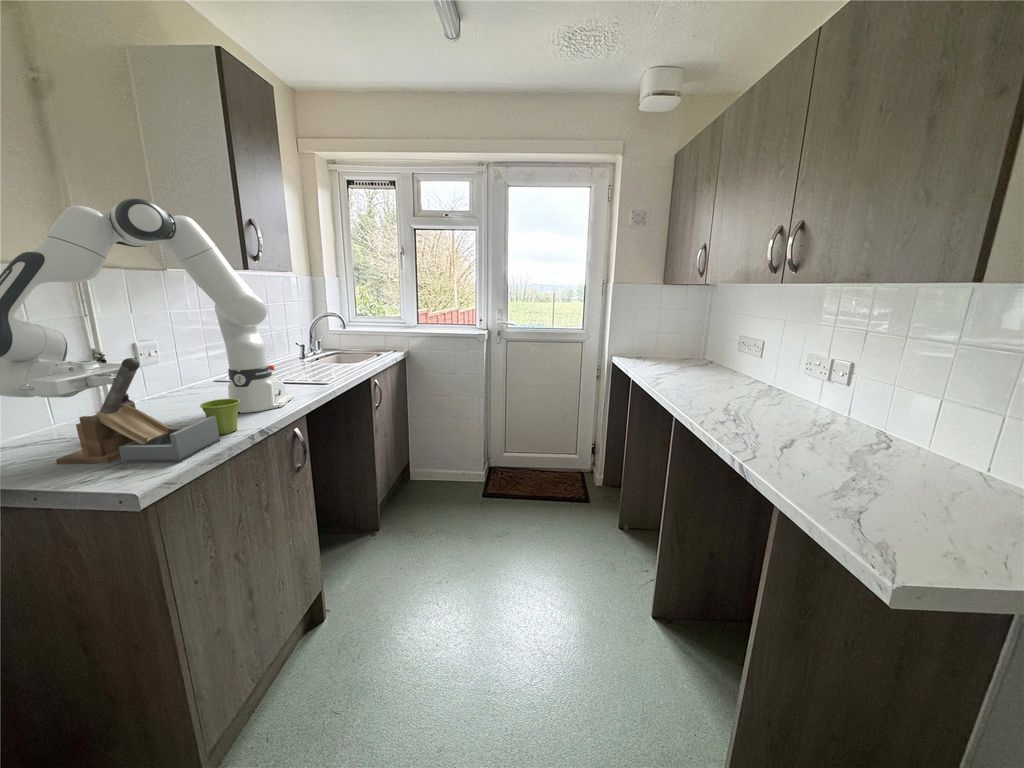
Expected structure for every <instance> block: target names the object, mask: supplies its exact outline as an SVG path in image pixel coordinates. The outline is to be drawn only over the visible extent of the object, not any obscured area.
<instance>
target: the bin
mask: <svg viewBox="0 0 1024 768" xmlns="http://www.w3.org/2000/svg"><path fill="white" fill-rule="evenodd" d="M170 428H171V429H170V431H169V433H168V434H167V435H164V436H162V437H160V438H157V439H155V440H153V441H150V442H148V443H146V444H143V445H142V444H140V443H138V442H136V441H133V442H130V443H128V444H125V445H123V446H120V447H119V451H120V456H121V458H120V459H121V463H122V464H148V463H149V464H154V463H155V464H156V463H157V464H158V463H182V462H184V461H185V459H186V460H188V459H190V458H191V457H193V456H195V455H197V454H199V453H200V451H201V450H203V451H205V450H206V449H208V448H210V447H211V445H212V446H214V445H216V444H217V442H218V443H219V442H221V439H220V434H219V433H218V427H217V421H216V416H211V417H209V418H207V417H206V418H204V419H202V420H200V421H197V422H195V423H193V424H191V425H188V426H185V427H170ZM215 443H216V444H215ZM213 444H214V445H213ZM207 447H208V448H207ZM205 448H206V449H205ZM198 452H199V453H198ZM201 452H202V451H201ZM196 453H197V454H196ZM194 454H195V455H194ZM192 455H193V456H192ZM189 457H190V458H189ZM187 458H188V459H187ZM183 460H184V461H183Z"/></svg>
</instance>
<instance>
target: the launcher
mask: <svg viewBox="0 0 1024 768" xmlns="http://www.w3.org/2000/svg"><path fill="white" fill-rule="evenodd" d="M120 364H121V367H120V369H119V371H118V373H117V375H116V378H115V380H114V382H113V384H111V387H110V388H109V390H108V393H107V395H106V397H105V399H104V401H103V403H102V407H101V408H100V410H99V411H98V412H96V414H95V415H93V416H96V417H97V421H99V422H100V423H102V424H104V425H106V426H108V427H110V428H112V429H113V430H115V431H117V432H119V433H121V434H123V435H125V436H127V437H128V438H130V439H132V440H134V441H136V442H138V443H140V444H142V445H143V444H146V443H148V442H150V441H153V440H155V439H157V438H160V437H162V436H164V435H167V434H168V433H169V431H170V429H171V428H172V427H170V426H169V425H167V424H165V423H163V422H161V421H159V420H158V419H156V418H154V417H152V416H150V415H148V414H147V413H145V412H144V411H141V410H139V409H137V408H134V407H132V406H130V405H128V404H124V405H123V407H120V405H121V403H122V401H123V399H124V396H125V394H126V393H127V392H128V390H129V389H130V385H131V384H132V381H133V379H134V377H135V375H136V373H137V371H138V370H139V368H140V362H139V361H138V360H137V359H136V358H132V357H131V358H130V357H129V358H125V359H123V360H122V361H121V363H120ZM119 407H120V408H119Z"/></svg>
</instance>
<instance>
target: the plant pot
mask: <svg viewBox="0 0 1024 768" xmlns="http://www.w3.org/2000/svg"><path fill="white" fill-rule="evenodd" d="M239 403H240V400H239V399H229V398H220V399H213V400H208V401H204V402H201V404H199V407H200V408H201V409H202V411H203V412H204V414H205V417H206V418H209V417H211V416H216V421H217V427H218V433H219V435H227V434H232V433H234V432H235V431H238V406H239ZM233 431H234V432H233ZM231 432H232V433H231Z"/></svg>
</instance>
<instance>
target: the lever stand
mask: <svg viewBox="0 0 1024 768" xmlns="http://www.w3.org/2000/svg"><path fill="white" fill-rule="evenodd" d="M123 405H124V404H122V405H120V407H123ZM128 405H130V406H132V407H134V408H135V407H136V404H128ZM75 427H76V431H77V436H78V439H79V443H80V447H81V449H79V450H77V451H74V452H72V453H68V454H66V455H64V456H61V457H58V458H56V459H55V462H56V465H77V464H78V465H81V464H83V465H84V464H85V465H88V464H89V465H90V464H91V465H92V464H93V465H94V464H95V465H96V464H97V465H99V464H111V463H112V462H115V461H117V460H119V459H121V456H120V451H119V447H120V446H123V445H125V444H128V443H130V442H133V441H134V440H132V439H130V438H128V437H127V436H125V435H123V434H121V433H119V432H117V431H115V430H113V429H112V428H110V427H108V426H106V425H104V424H102V423H100V422H99V421H97V417H96V416H94V415H86V416H85V415H83V416H80V417H79V423H76V424H75Z"/></svg>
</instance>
